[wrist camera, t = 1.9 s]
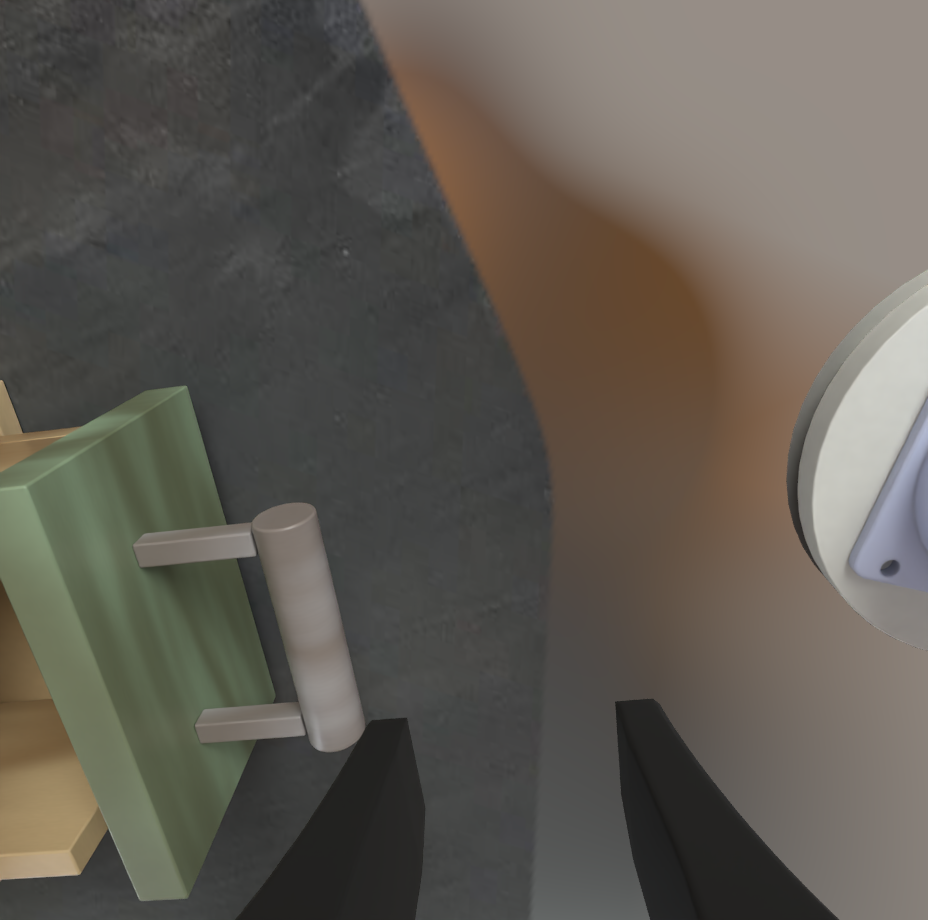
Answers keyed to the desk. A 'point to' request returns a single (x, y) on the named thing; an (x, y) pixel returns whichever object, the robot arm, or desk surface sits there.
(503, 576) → the desk surface
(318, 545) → the drawer
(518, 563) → the desk surface
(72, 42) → the desk surface
